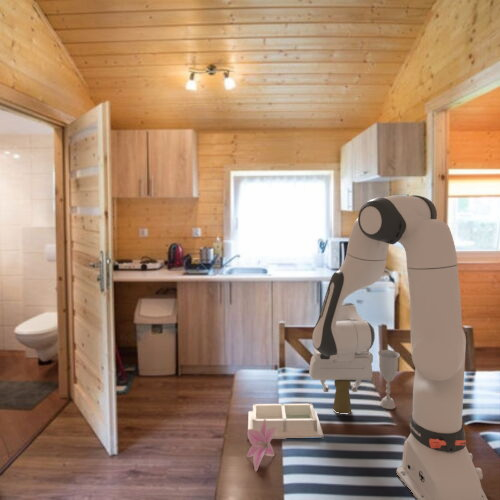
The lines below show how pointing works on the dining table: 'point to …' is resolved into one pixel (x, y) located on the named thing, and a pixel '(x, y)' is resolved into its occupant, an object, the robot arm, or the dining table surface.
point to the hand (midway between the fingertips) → (340, 391)
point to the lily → (260, 443)
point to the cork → (342, 396)
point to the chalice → (388, 373)
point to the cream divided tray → (286, 420)
